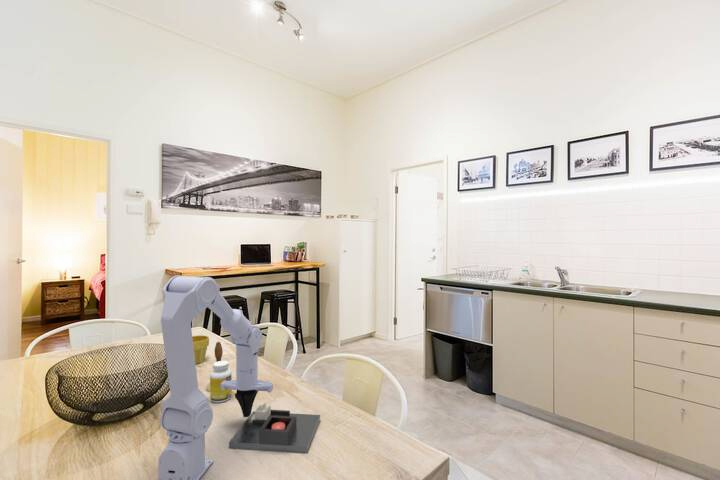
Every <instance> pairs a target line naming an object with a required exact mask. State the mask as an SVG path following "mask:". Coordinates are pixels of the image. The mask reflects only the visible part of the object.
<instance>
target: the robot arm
mask: <svg viewBox="0 0 720 480" xmlns="http://www.w3.org/2000/svg"><path fill="white" fill-rule="evenodd" d="M220 288H221V286H220V284H218V283H217V282H216V280H215V279H214V278H213V277H210V276H204V277H203V276H201V277H200V276H185V275H174V276H172V277H170V279H169V280H168V281H167V282H166V283H165V285H164V287H162V290H161V292H162V299H163V301H162V302H163V306H162V310H161V316H160V325H161V332H162V333H161V334H162V339H163V346H164V354H165V355H164V356H165V361H166V369H167V376H168V377H167V378H168V386H169V393H170V394H169V395H167V397H165V399H164V400H163V401H162V403H161V406H162V410H161V415H160V419H159V421H160V426H161V428H163V429H162V430H165V431H166V437H168V440H167V444H166V447H165V449H164V450H163V451H162V452H161V454H160V456H159V457H158V480H201V478H202V476H204V474H205V473H206V471H207V470H209V467H210V466H211V465H212V464H213V463H214V460H213V459H206V435H205V434H206V432H208V431H209V429H210V427H211V425H212V422H213V418H214V417H213V416H214V411H213V408H212V407H211V405H210V404H209V398H208V397H207V396H206V394H205V393H204V392H202V390H201V389H199V388H200V387H199V382H198V374H197V364H195V355H194V347H193V339H192V336H193V331H192V321H193V320H194V319H197V317H199V316H200V315H201V314H202V313H203V312H204V311H205V310H206V309H207V308H208V309H209V310H210V311H211V312H212V313H214V314H215V315H216V316H217V317H218V318H219V319H220V322H219V323H220V326H221V327H222V329H224V330H225V331H226V332H227V333H228V335H230V340H231V343H232V344H234V345H235V348H236V349H235V352H236V353H235V356H236V358H235V362H236V364H235V365H236V370H235V371H236V373H235V376H236V377H235V379H233V380H232V379H231V380H230V381H223V382H222V383H221V390H225V389H231V390H234V391H235V390H236V393H235V394H234V398H235V400H236V401H237V402H238V405H239V406H240V409H241V412H242V417H243V418H249V416H250V415H251V414H252V409H253V405H254V402H255V400H256V397H257V394H258V393H259V391H260V392H267V393H272V392H273V390H274V382H269V381H264V380H261V379H258V376H259V375H258V369H259V367H258V357H259V356H258V354H259V353H258V352H259V351H260V344H261V341H262V338H263V333H262V331H261V329H260V328H259V327H258V326H257V325H252V323H251V321H250V320H249V319H247V317H246V316H245V315H244V314H243V312H244V311H242V309H237V308H232V307H231V306H230V305H229V303H228V302H227V300H226V299H225V297H224V296H223V294H222V293H221V292H220Z"/></svg>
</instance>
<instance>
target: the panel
mask: <svg viewBox="0 0 720 480" xmlns="http://www.w3.org/2000/svg"><path fill="white" fill-rule="evenodd" d="M255 411H256V410H255ZM255 411H252V412H251V414H250V416H249V417H247V419H246V420H245V421H244V423H242V425H241V426H240V427H239V429H238V430H237V431H236V432H235V433H234V435H233V436H232V437H231V439H230V440H229V441H228V448H229V449H241V450H253V451H254V450H255V451H267V452H268V451H269V452H273V451H274V452H286V453H301V454H308V452H309V449H310V446H311V445H312V441H313V439H314V436H315V434H316V432H317V429H318V428H319V424H320V422H321V414H310V413H309V414H306V413H291V410H283V409H282V410H281V409H271V415H270V416H269V417H268V418H267V420H255ZM277 422H283V423H285V430H276V429H272V425H273V424H274V423H277Z"/></svg>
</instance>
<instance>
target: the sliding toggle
mask: <svg viewBox="0 0 720 480" xmlns="http://www.w3.org/2000/svg"><path fill="white" fill-rule="evenodd" d="M271 407H272V405H271V404H267V403H265V402H264V403H263V404H261V403H260V404H259V406H258V407H257V409H255V420H267V418H268V417H269V416H270V415H271V410H272V409H271Z"/></svg>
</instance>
